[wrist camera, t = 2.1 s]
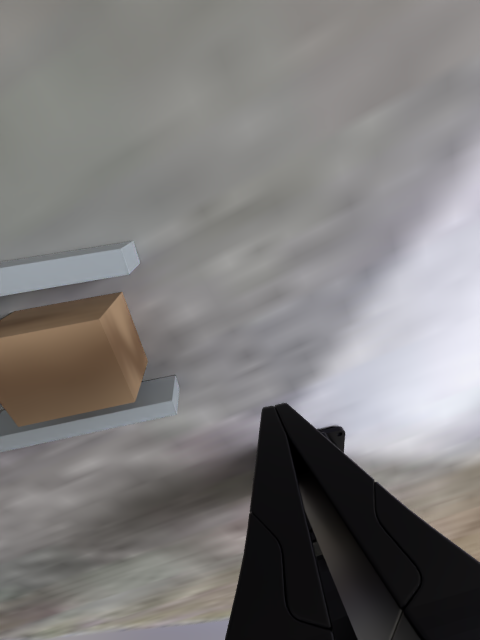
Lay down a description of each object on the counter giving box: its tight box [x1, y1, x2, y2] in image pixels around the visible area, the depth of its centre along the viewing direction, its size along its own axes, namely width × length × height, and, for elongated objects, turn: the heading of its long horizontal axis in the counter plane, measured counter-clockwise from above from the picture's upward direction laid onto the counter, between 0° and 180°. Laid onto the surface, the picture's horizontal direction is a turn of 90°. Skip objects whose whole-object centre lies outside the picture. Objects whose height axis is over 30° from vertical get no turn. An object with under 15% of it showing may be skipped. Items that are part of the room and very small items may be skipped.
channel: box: [0, 241, 179, 452], centre depth 14 cm, size 10×12×2 cm
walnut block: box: [0, 292, 148, 427], centre depth 14 cm, size 5×6×4 cm
